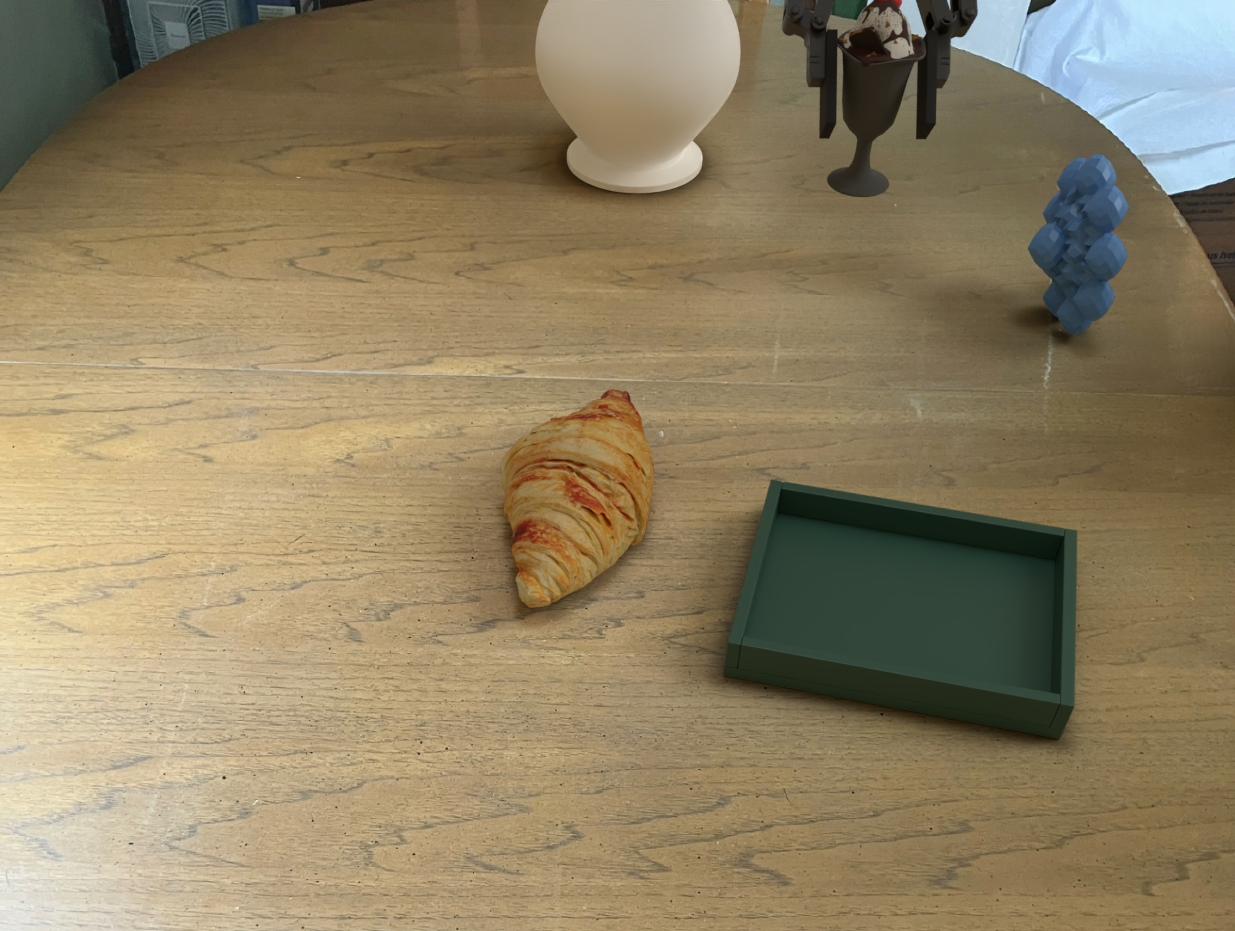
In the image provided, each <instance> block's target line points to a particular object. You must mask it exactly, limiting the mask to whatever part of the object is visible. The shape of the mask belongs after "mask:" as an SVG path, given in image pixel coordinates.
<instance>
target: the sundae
mask: <svg viewBox="0 0 1235 931" xmlns="http://www.w3.org/2000/svg"><path fill="white" fill-rule="evenodd" d="M902 4H903V0H873V1H871V2H870V3H868V4H867V5H866V6H865V7H864V8H862V10H861V12H860V13H859V15H858V17H857V18H856V21H855V23H854V25H853V27H851V28H850V29H848V30H846V31H845V32H843V33H842V34H841V35H839V36H838V44H837V49H839V50H840V52H841V54H842V89H841V105H842V106H841V109H842V110H841V111H842V120H843V122H844V124H845V125H846V127H847V129H848V130H849V132H851V133H852V134H853V135H854V136H855V138H856V146H855V152H854V155H853V156H854V157H853V159H852V161H851V163H850V165H849V166H844V167H839V168H836V169H834V170H832V171H831V172H830V173H829V174H828V175H827V177H826V182H827V185H828V186H829V187H830V188H831V189H832V190H834V191H835V192H836V193H839V194H841V195H845V196H849V197H853V198H870V197H876V196H879V195H881V194H883V193H885V192H886V191H887V190H888V189H889V187H890V181H889V179H888V177H887V176H886V175H885V174H884V173H882V172H881V171H879V170H876V169H874V168H871V152H872V146H873V142H874V141H875V140H877V138H878V137H880V136H882V135H884V134H885V133H886V132H887V131H888V130H889V129H890V128H891V127H893V125H894V123H895V121H896V119H897V116H898V113H899V110H900V108H901V104H902V101H903V98H904V95H905V91H906V88H907V84H908V82H909V78H910V75H911V73H912V70H913V68H914V65H915V64H916V63H918V61H920V60H922V59H923V58H924V57H925V54H926V44H925V41H924V40H923V38H922V37H921V36H920V35H919V34H915V33H912V29H911V25H910V22H909V20H908V18H907V16H906V15H905V14H904V13H903V12H902V10H901V6H902Z"/></svg>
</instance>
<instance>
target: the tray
mask: <svg viewBox="0 0 1235 931" xmlns="http://www.w3.org/2000/svg"><path fill="white" fill-rule="evenodd" d="M1077 566H1078V530H1076V529H1072V528H1064V527H1059V526H1055V525H1054V526H1053V525H1047V524H1041V523H1035V522H1029V521H1023V520H1017V519H1011V518H1006V517H999V516H993V515H989V514H988V515H986V514H982V513H981V514H980V513H977V512H976V513H975V512H970V511H962V510H958V509H957V510H956V509H951V508H946V507H945V508H944V507H939V506H932V505H927V504H921V503H916V502H909V501H904V500H903V501H902V500H898V499H891V498H885V497H879V496H874V495H873V496H872V495H867V494H861V493H856V492H855V493H854V492H850V491H844V490H843V491H842V490H837V489H831V488H826V487H820V486H819V487H818V486H813V485H807V484H800V483H797V482H796V483H795V482H790V481H782V480H776V479H770V481H769V485H768V489H767V493H766V495H765V500H764V503H763V507H762V511H761V516H760V519H759V522H758V526H757V530H756V533H755V537H754V541H753V544H752V548H751V552H750V556H749V559H748V563H747V566H746V570H745V574H744V577H743V583H742V585H741V589H740V593H739V596H738V601H737V604H736V608H735V611H734V615H733V619H732V623H731V626H730V630H729V633H728V638H727V641H726V647H725V648H726V649H725V655H724V657H725V658H724V664H723V671H722V672H723V673H722V676H724V677H728V678H734V679H738V680H745V681H750V682H755V683H760V684H765V685H771V686H776V687H781V688H786V689H790V690H791V689H792V690H797V691H801V692H802V691H803V692H808V693H813V694H818V695H822V696H828V697H834V698H839V699H844V700H849V701H855V702H861V703H865V704H870V705H877V706H881V707H887V708H892V709H898V710H903V711H908V712H912V713H913V712H914V713H918V714H924V715H929V716H934V717H940V718H945V719H950V720H955V721H960V722H966V723H971V724H977V725H982V726H987V727H991V728H992V727H993V728H997V729H1003V730H1008V731H1014V732H1017V733H1018V732H1019V733H1024V734H1030V735H1033V736H1040V737H1045V738H1051V739H1056V740H1061V737H1062V735H1063V733H1064V731H1065V729H1066V727H1067V724H1068V722H1069V720H1070V718H1071V716H1072V713H1073V711H1074V709H1075V707H1076V706H1075V705H1076V704H1075V703H1076V701H1075V700H1076V644H1077V643H1076V641H1077V639H1076V638H1077V637H1076V636H1077V634H1076V633H1077V577H1078V576H1077V573H1078V572H1077V571H1078V570H1077V569H1078V567H1077Z"/></svg>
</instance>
